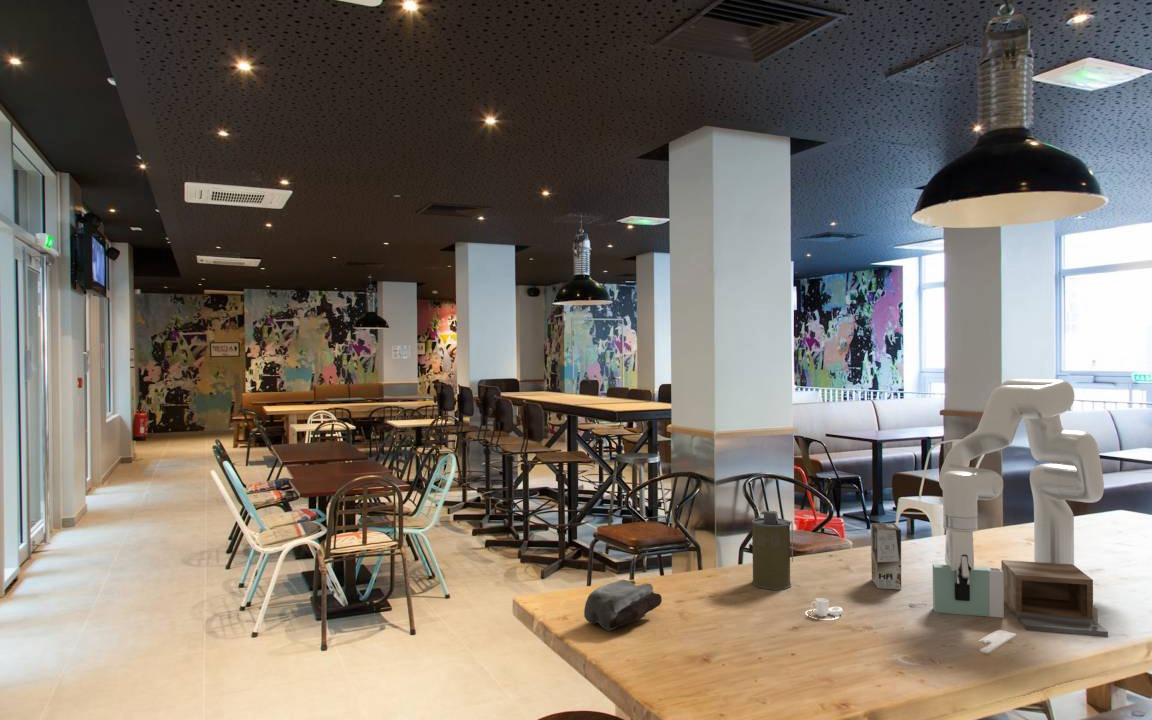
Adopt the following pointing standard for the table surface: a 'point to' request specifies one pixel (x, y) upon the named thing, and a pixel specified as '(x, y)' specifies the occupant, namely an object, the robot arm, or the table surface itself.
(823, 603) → the teacup and saucer
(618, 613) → the rock
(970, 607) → the green and grey box
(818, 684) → the table surface
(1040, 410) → the robot arm
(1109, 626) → the table surface
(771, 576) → the canister
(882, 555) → the coffee box
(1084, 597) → the cabinet
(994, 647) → the white plastic blade
